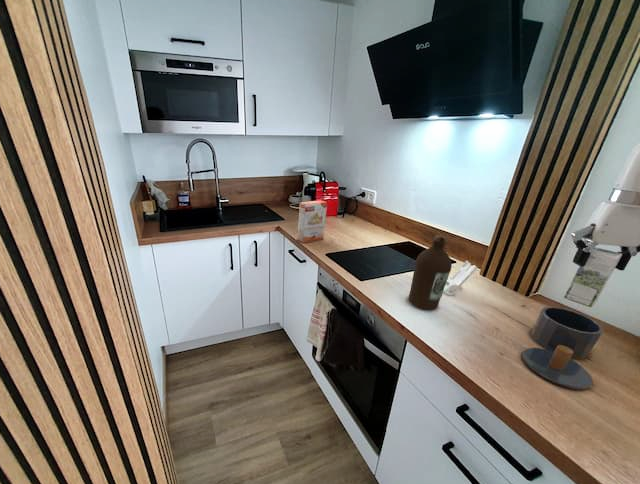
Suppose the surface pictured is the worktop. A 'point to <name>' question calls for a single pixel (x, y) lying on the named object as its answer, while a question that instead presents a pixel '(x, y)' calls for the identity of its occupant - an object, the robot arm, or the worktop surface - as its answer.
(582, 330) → the tin
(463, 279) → the plastic part
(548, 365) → the tin lid
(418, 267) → the brown bottle
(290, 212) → the worktop surface
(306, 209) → the cracker box
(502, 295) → the worktop surface
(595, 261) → the syrup box
